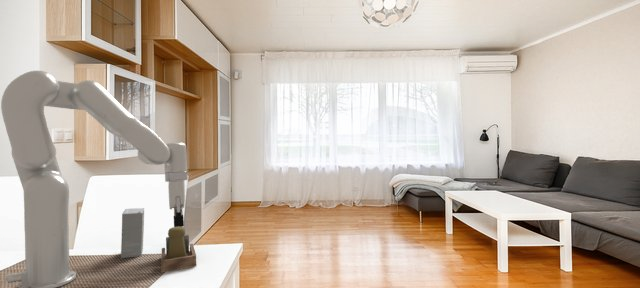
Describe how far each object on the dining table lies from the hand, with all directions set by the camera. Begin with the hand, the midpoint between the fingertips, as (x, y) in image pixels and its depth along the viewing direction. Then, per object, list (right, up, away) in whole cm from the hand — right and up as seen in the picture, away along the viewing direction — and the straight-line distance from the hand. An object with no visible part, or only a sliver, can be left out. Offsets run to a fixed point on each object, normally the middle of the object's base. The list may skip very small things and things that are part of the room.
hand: (178, 226), depth 116 cm
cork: (+5, -9, -12) cm, 15 cm away
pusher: (+2, -9, -5) cm, 11 cm away
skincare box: (-16, -10, -2) cm, 18 cm away
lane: (+4, -9, -10) cm, 14 cm away
